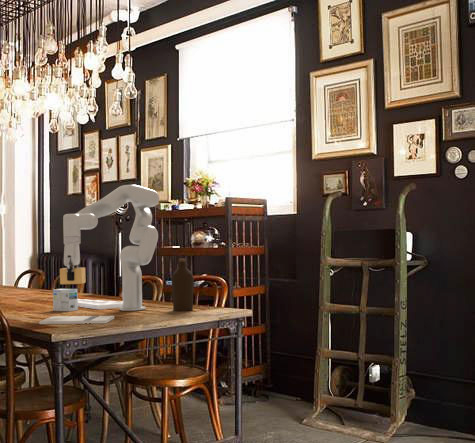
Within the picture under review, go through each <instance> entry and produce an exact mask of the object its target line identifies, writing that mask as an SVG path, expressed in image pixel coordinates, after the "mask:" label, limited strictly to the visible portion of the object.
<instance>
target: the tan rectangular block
mask: <svg viewBox="0 0 475 443" xmlns="http://www.w3.org/2000/svg"><path fill="white" fill-rule="evenodd" d="M73 272H74V281H67V267H63V268H59V284H60V285H78V284H79V285H80V284H82V285H83V284H85V283H86V280H87V279H86V267H82V266H80V267H77V268H74V271H73Z"/></svg>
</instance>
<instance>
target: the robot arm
mask: <svg viewBox="0 0 475 443" xmlns="http://www.w3.org/2000/svg"><path fill="white" fill-rule="evenodd" d="M159 202H160V196H159V193H158V191H156V190H154V189H150V188H147V187H144V186H141V185H137V184H123V185H120V186H119V187H117V188H116V189H114V190H113V191H111V192H110V193H108V194H107V195H105V196H104V197H102V198H100V199H99V200H96V201H95V202H93V203H91V204H89V205H87V206H85V207H84V208H82V209H80V210H79V211H77V212H76V213H66V214H64V215H63V218H62V220H63V221H62V222H63V224H62V225H63V227H62V228H63V229H62V230H63V245H64V247H63V248H64V249H63V250H64V251H63V265H64V266H65V267H66V268H67V281H74V272H73V271H74V268H77V267H79V265H80V263H81V253H80V244H81V240H82V239H81V237H82V236H81V230H86V231H87V230H93V229H94V228H96V227H97V225H98V223H99V220H98V219H99V218H102V217H106V216H109V215H111V214H113V213H115V212H116V211H117V210H118V209H120V208H122V207H123V206H124V205H125V204H127V203H131V205H132V206H133V209H134V212H135V218H134V221H133V225H132V227H131V230H130V234H129V241H130V243H131V244H133V245H127V246H125V247H123V248H122V249H121V251H120V254H119V259H120V264H121V272H122V273H121V274H122V275H121V277H122V281H121V284H122V302H123V307H120V308H119V310H120V311H123V312H124V311H127V312H133V311H143V310H144V311H145V310H146V306H144V305H143V280H142V278H143V274H142V270H141V267H140V266H145V265H148V264H149V263H150V262H151V261H152V259H153V255H154V253H155V250H156V248H157V243H158V239H159V232H158V230H157V229H156V227H155V226H153V225H152V223H153V213H152V210H151V209H150V208H153V207H156V206H157V205H158V204H159Z"/></svg>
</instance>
